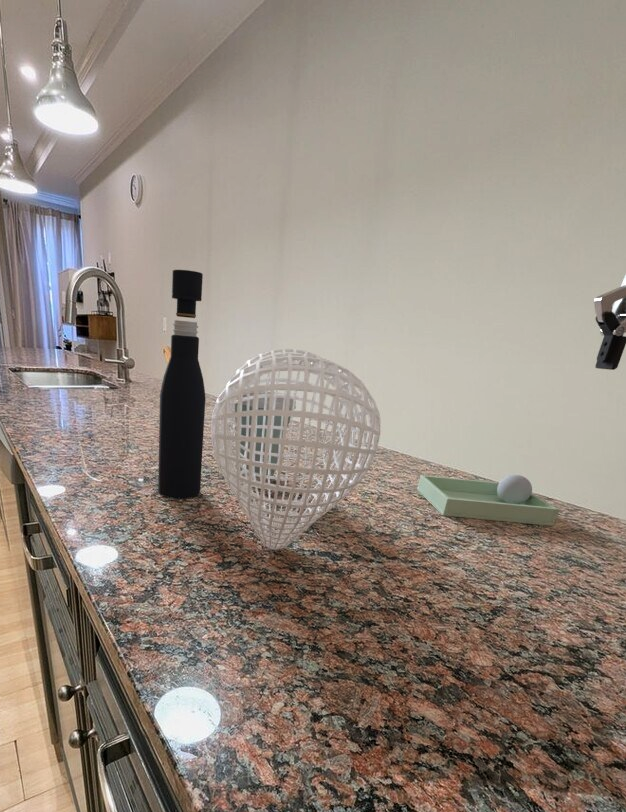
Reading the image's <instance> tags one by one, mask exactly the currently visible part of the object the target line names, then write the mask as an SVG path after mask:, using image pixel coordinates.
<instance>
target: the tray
mask: <svg viewBox="0 0 626 812" xmlns="http://www.w3.org/2000/svg"><path fill="white" fill-rule="evenodd" d="M499 483H500V481H499V482H497V481H489V480H488V481H487V480H476V479H467V478H455V477H446V476H435V475H423V474H420V476H419V479H418V484H417V488H416V490H417V492H418V493H419V494H420V495H421V496H422V497H424V499H426V501H428V502H429V503H430V504H431V506H433V507H434V509H436V510H437V512H439V513H440V514H441V516H443V517H454V518H464V519H465V518H466V519H467V518H468V519H473V520H475V519H476V520H487V521H496V522H508V523H516V524H517V523H518V524H527V525H539V526H550V527H553V526H555V522H556V519H557V517H558V514H559V512H560V508H558V507H556V506H554V505H553V504H551V503H549V502H548V501H546V500H545V499H543V498H541V497H540V496H538V495H536V494H534V493H533V492H532V493H531V496H530V497H529V498H528V500H526V501H525V502H523V503H521V504H509V503H505V502H504V501H502V500H501V499H500V497H499V496H498V493H497V487H498V484H499Z"/></svg>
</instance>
